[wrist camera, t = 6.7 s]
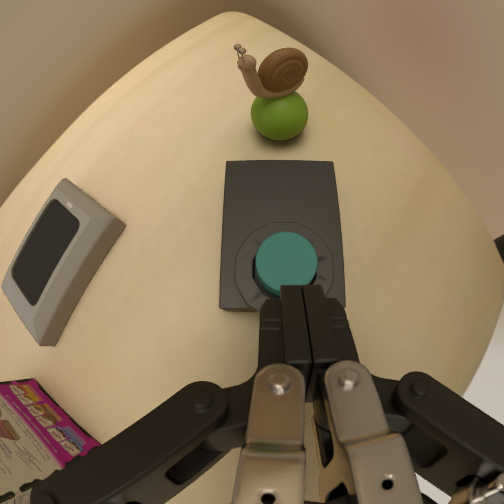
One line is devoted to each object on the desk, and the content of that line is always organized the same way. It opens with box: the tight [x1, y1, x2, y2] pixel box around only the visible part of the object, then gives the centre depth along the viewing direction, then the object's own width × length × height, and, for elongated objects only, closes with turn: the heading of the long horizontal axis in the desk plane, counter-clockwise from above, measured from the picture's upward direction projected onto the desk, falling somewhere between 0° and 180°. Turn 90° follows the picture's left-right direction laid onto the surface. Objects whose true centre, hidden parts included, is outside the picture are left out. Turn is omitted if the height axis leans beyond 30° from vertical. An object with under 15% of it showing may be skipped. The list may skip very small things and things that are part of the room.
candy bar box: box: [0, 378, 101, 504], centre depth 12 cm, size 11×5×16 cm, turn 61°
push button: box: [256, 232, 318, 296], centre depth 17 cm, size 4×4×2 cm
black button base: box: [219, 160, 346, 313], centre depth 21 cm, size 13×9×5 cm
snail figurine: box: [234, 44, 308, 140], centre depth 21 cm, size 5×6×12 cm
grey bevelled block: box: [1, 178, 126, 346], centre depth 23 cm, size 10×4×15 cm
